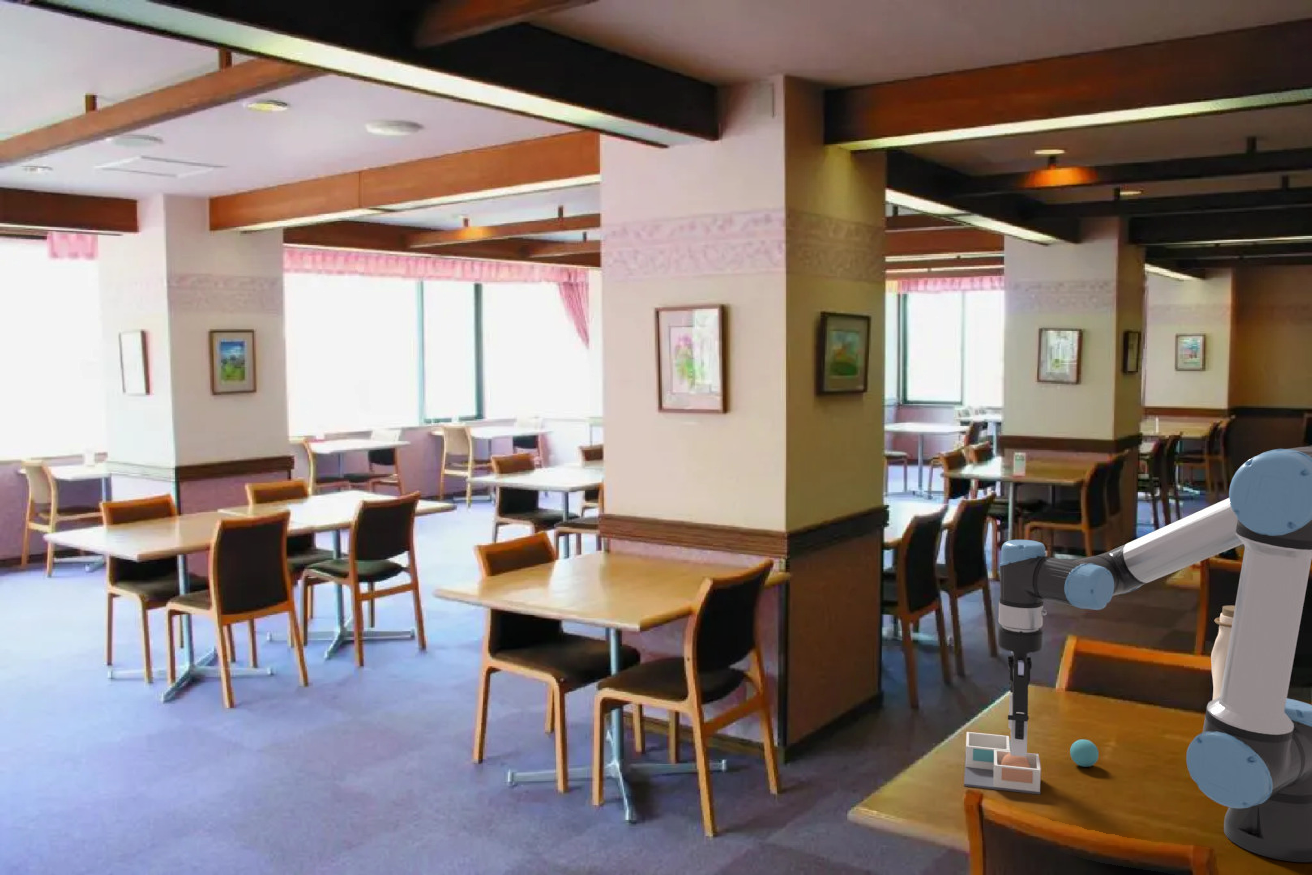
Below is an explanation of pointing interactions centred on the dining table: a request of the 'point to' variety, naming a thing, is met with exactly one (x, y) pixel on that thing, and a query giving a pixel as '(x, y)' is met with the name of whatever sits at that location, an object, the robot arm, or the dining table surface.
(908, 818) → the dining table surface
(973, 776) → the mat
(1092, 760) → the ball teal
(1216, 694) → the water bottle
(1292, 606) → the robot arm
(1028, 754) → the white square box
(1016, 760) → the ball terracotta
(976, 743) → the white square bin
